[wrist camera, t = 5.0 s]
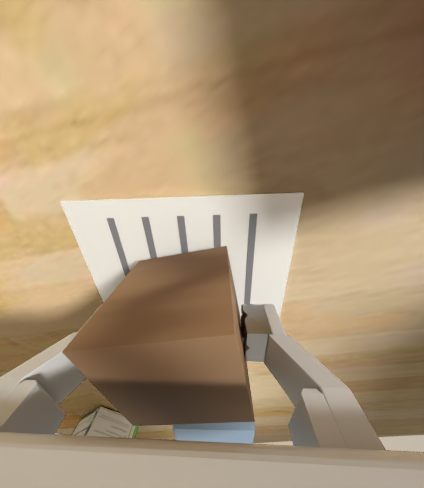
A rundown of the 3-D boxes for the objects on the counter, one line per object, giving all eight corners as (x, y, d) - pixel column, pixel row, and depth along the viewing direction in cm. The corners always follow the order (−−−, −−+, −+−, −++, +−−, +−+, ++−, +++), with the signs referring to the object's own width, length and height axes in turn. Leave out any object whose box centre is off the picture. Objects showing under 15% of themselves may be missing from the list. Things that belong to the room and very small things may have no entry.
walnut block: (226, 245, 9) (234, 334, 4) (239, 313, 11) (254, 421, 6) (138, 260, 9) (61, 352, 5) (167, 321, 11) (132, 425, 7)
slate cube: (243, 347, 14) (255, 430, 10) (240, 378, 16) (250, 459, 12) (186, 347, 14) (172, 428, 10) (191, 378, 17) (182, 457, 12)
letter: (302, 192, 9) (304, 193, 8) (275, 333, 13) (276, 336, 13) (62, 200, 9) (59, 201, 9) (118, 333, 14) (117, 336, 14)
